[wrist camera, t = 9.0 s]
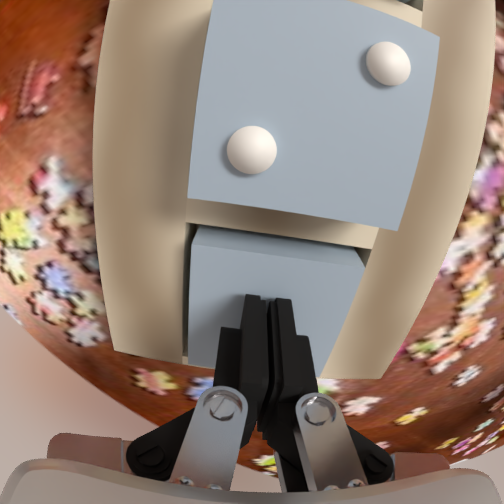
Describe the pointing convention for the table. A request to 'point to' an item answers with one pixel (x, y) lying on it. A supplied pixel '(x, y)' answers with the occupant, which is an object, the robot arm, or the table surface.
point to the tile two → (312, 109)
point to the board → (255, 218)
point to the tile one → (268, 286)
